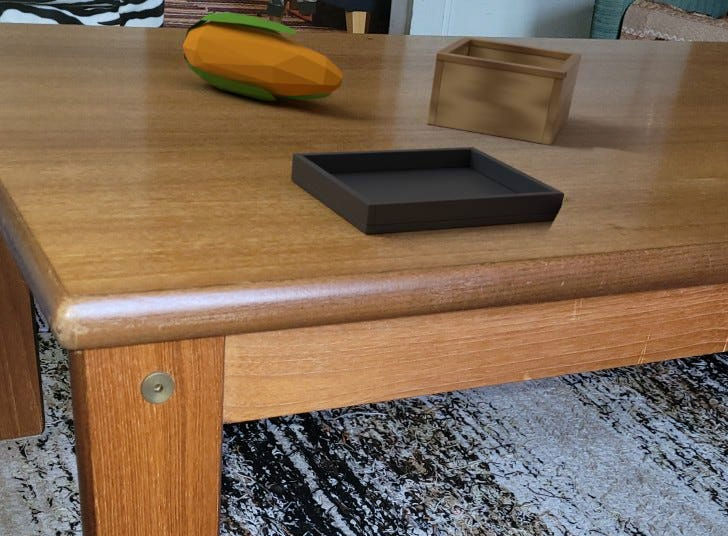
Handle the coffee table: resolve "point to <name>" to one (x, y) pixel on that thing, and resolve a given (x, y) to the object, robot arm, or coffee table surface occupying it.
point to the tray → (423, 189)
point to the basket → (503, 89)
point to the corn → (257, 59)
